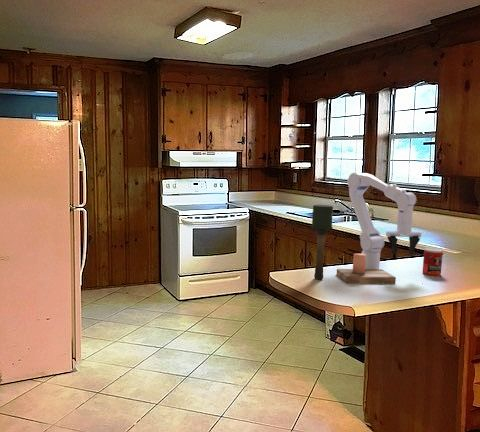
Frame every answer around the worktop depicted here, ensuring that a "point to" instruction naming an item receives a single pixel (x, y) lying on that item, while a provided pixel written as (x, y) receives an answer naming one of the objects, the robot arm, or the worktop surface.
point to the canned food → (432, 261)
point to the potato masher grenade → (321, 233)
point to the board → (366, 276)
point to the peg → (359, 263)
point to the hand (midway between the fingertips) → (402, 253)
